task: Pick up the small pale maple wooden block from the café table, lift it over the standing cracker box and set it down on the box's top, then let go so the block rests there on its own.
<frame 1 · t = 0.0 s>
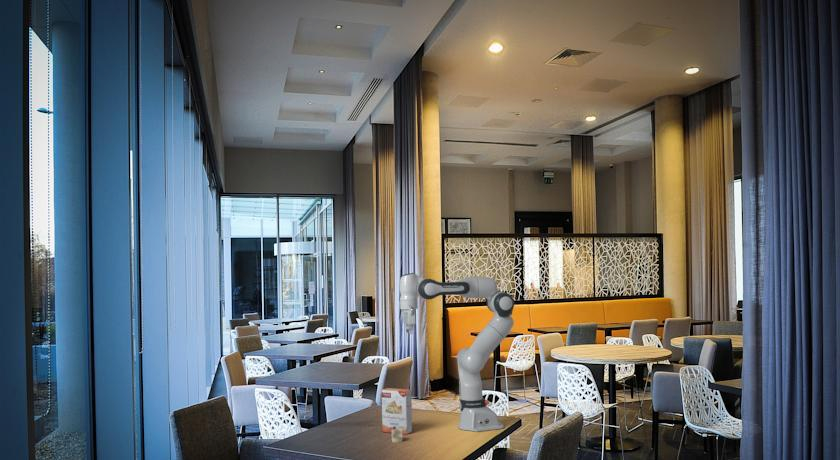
hand: (409, 333, 314), 48 cm above the table, tool pointing down, fingers open, 8 cm apart
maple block: (397, 441, 293), on the table
cracker box: (397, 432, 309), on the table
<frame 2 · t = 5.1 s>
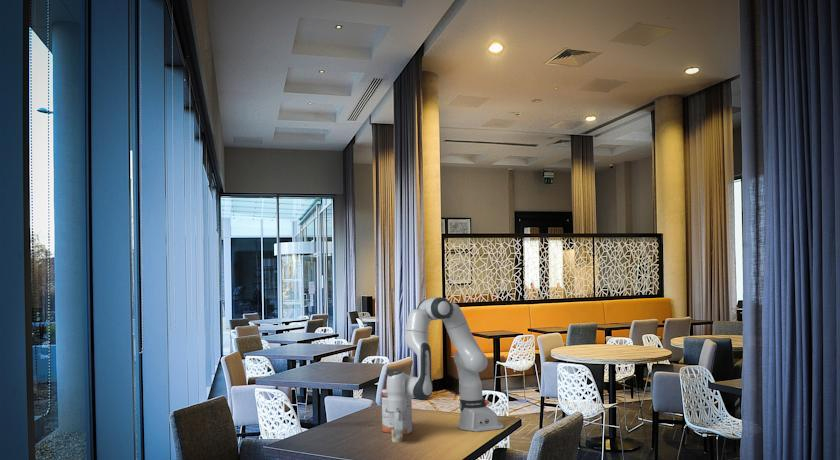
hand: (397, 436, 293), 2 cm above the table, tool pointing down, fingers closed on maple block, 4 cm apart
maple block: (397, 440, 293), on the table, touching gripper
everything else where it was.
when the fingers open (25 cm above the table, at t = 13.3 s): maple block drops 2 cm, resting on cracker box.
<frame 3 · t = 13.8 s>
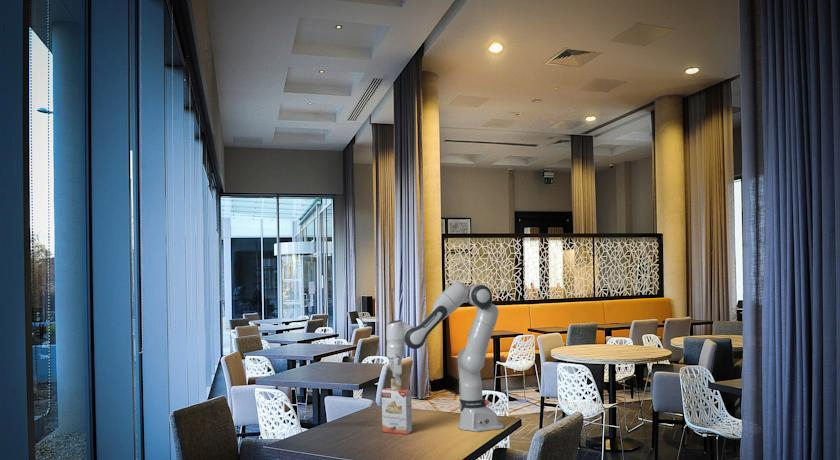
hand: (396, 381, 311), 25 cm above the table, tool pointing down, fingers open, 8 cm apart
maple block: (396, 389, 310), point 21 cm above the table, touching cracker box
cracker box: (397, 432, 309), on the table, touching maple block
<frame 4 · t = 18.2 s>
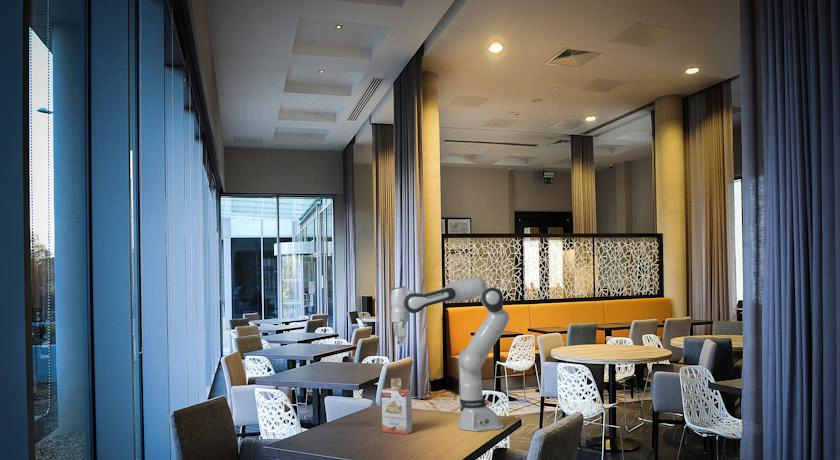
hand: (400, 345, 324), 41 cm above the table, tool pointing down, fingers open, 8 cm apart
nothing on the table moved.
at the end: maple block inside the target area on the cracker box (0.1 cm from its centre), point 21.1 cm above the cracker box's base; the gripper is holding nothing; cracker box tilted 0° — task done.
